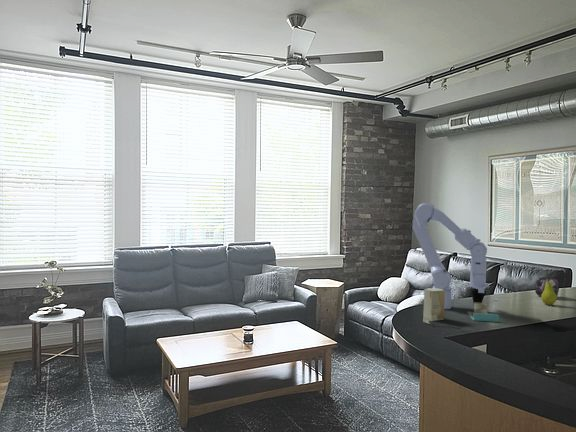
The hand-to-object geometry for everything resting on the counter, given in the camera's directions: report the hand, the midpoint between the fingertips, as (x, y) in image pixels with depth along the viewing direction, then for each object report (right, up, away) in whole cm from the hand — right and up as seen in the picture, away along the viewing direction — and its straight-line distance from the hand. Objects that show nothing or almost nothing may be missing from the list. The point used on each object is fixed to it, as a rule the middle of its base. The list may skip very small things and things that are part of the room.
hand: (477, 308), depth 181 cm
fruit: (+39, -3, +19) cm, 44 cm away
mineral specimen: (+48, -2, +37) cm, 60 cm away
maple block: (-1, -1, -6) cm, 6 cm away
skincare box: (-21, -3, -14) cm, 26 cm away
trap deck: (-2, -3, -9) cm, 10 cm away
